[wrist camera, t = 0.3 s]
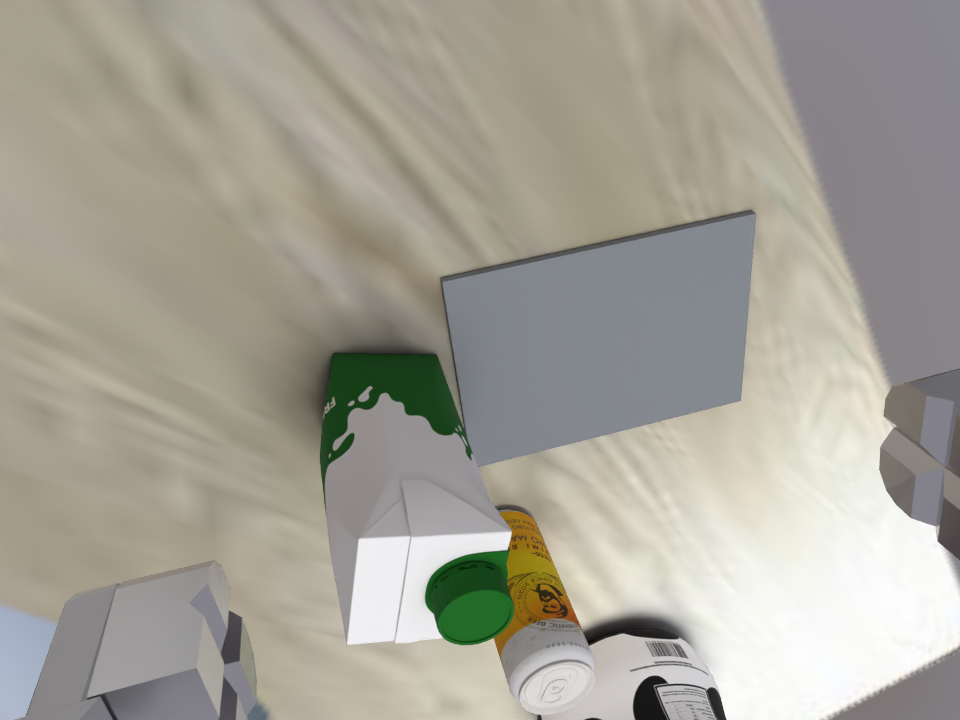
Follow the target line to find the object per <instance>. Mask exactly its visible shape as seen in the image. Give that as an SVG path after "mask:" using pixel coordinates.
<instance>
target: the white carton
mask: <svg viewBox="0 0 960 720" xmlns="http://www.w3.org/2000/svg"><path fill="white" fill-rule="evenodd" d="M320 465H321V475H322V483H323V492H324V501H325V510H326V518H327V527H328V536H329V544H330V552H331V559H332V565H333V571H334V576H335V581H336V587H337V592H338V597H339V602H340V608H341V613H342V619H343V625H344V630H345V636H346V642H347V645H350V644H362V643H374V642H385V641H394V643H409V642H415V641H417V640H428V639H438V638H444V639H445V640H447V641H449V642H451V643H454V644H458V645H474V644H479V643H482V642H485V641H488V640H490V639H492V638H494V637H496V636H497V635H499V634H500V633H501V632H503V631H504V630H505V629H506V628H507V626H508V625H509V624H510V622H511V620H512V618H513V615H514V603H513V600H512V597H511V594H510V592H509V589H508V585H507V580H508V570H507V560H508V556H509V552H510V548H509V547H508V546H509V543H510V539H511V535H512V530H511V529H510V527H509V526H508V524H507V523H506V522H505V520H504V519H503V517H502V516H501V515H500V513H499V512H498V510H497V509H496V508H495V506H494V505H493V503H492V502H491V500H490V498H489V495H488V493H487V490H486V487H485V485H484V482H483V479H482V477H481V474H480V471H479V469H478V466H477V463H476V460H475V458H474V455H473V452H472V450H471V447H470V444H469V442H468V439H467V436H466V434H465V431H464V428H463V426H462V423H461V420H460V418H459V415H458V412H457V409H456V406H455V404H454V401H453V398H452V395H451V392H450V390H449V387H448V384H447V381H446V379H445V376H444V373H443V370H442V367H441V365H440V362H439V359H438V356H437V355H405V354H341V353H333V358H332V365H331V371H330V377H329V383H328V389H327V395H326V401H325V407H324V414H323V421H322V435H321V448H320Z"/></svg>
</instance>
